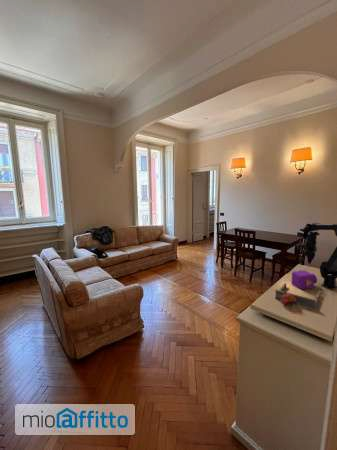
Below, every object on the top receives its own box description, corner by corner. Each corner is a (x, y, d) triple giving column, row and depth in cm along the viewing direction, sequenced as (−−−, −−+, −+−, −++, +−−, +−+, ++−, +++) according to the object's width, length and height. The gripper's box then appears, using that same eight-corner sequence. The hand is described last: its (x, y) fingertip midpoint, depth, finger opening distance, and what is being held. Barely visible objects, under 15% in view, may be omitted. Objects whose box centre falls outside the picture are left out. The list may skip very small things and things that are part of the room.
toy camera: (320, 287, 131) (321, 272, 129) (303, 291, 127) (304, 276, 125) (304, 281, 141) (305, 267, 139) (289, 284, 137) (289, 270, 136)
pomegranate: (298, 312, 110) (292, 294, 116) (300, 306, 105) (294, 288, 111) (283, 312, 112) (278, 294, 118) (284, 306, 107) (279, 288, 113)
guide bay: (284, 286, 134) (284, 279, 133) (320, 295, 121) (320, 287, 120) (275, 298, 120) (275, 290, 119) (314, 310, 107) (315, 301, 106)
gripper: (299, 236, 155) (298, 256, 158) (296, 242, 141) (294, 263, 144) (317, 238, 148) (316, 258, 151) (315, 244, 134) (314, 266, 137)
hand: (309, 261), depth 146 cm, fingers open, 9 cm apart
